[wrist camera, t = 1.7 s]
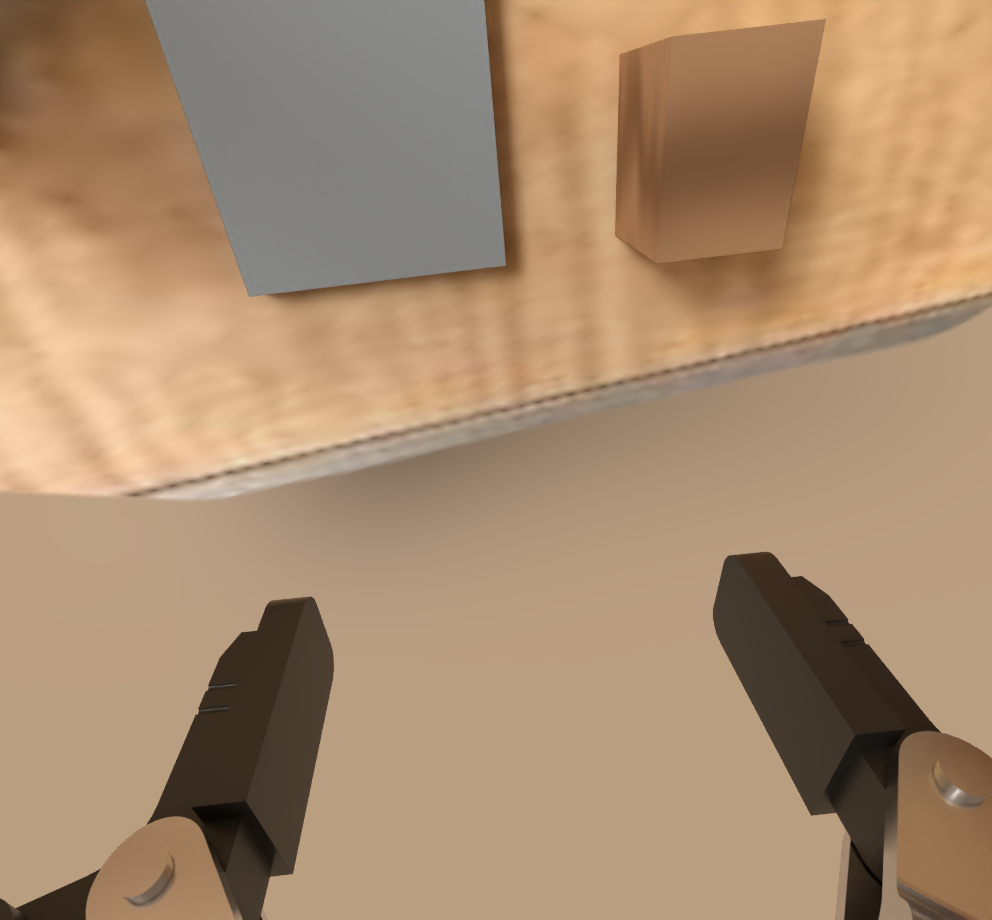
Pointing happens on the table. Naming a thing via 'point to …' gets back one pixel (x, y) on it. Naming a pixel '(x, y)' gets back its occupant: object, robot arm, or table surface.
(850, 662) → the robot arm
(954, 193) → the table surface
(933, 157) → the table surface
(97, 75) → the table surface
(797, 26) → the walnut brick
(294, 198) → the slate baseplate
